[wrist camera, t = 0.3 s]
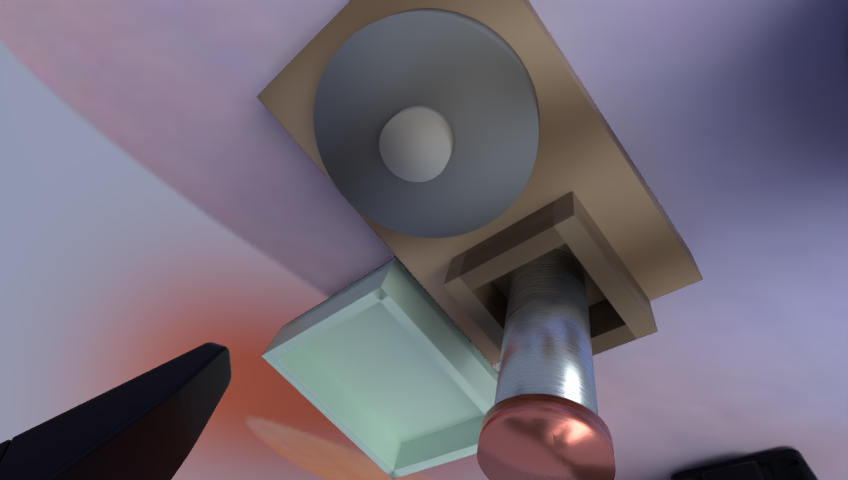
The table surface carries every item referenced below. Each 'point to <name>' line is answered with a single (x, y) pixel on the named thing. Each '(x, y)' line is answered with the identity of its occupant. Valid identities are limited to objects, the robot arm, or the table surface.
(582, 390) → the pin
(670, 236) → the block
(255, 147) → the table surface
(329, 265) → the table surface
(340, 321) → the tray
